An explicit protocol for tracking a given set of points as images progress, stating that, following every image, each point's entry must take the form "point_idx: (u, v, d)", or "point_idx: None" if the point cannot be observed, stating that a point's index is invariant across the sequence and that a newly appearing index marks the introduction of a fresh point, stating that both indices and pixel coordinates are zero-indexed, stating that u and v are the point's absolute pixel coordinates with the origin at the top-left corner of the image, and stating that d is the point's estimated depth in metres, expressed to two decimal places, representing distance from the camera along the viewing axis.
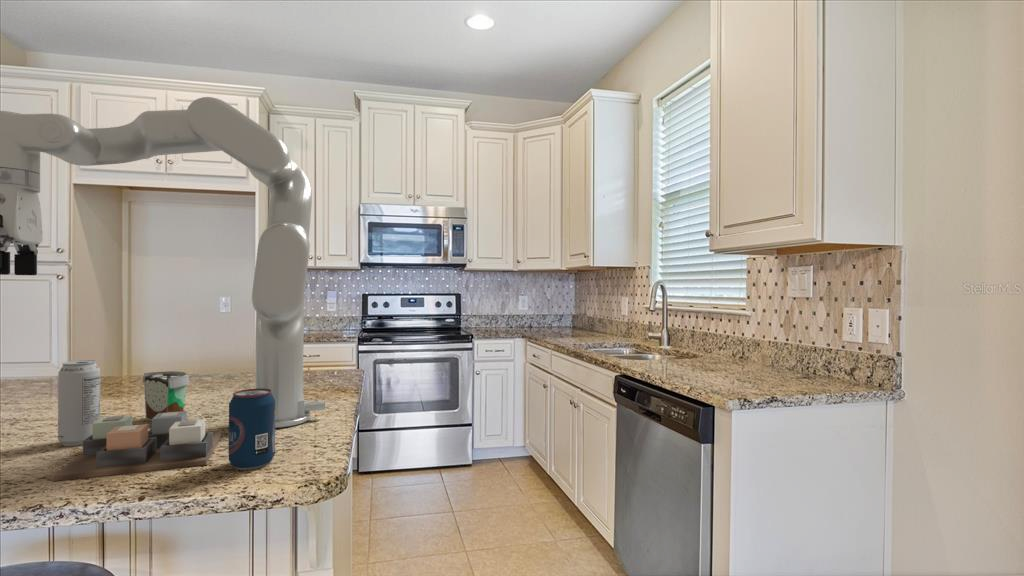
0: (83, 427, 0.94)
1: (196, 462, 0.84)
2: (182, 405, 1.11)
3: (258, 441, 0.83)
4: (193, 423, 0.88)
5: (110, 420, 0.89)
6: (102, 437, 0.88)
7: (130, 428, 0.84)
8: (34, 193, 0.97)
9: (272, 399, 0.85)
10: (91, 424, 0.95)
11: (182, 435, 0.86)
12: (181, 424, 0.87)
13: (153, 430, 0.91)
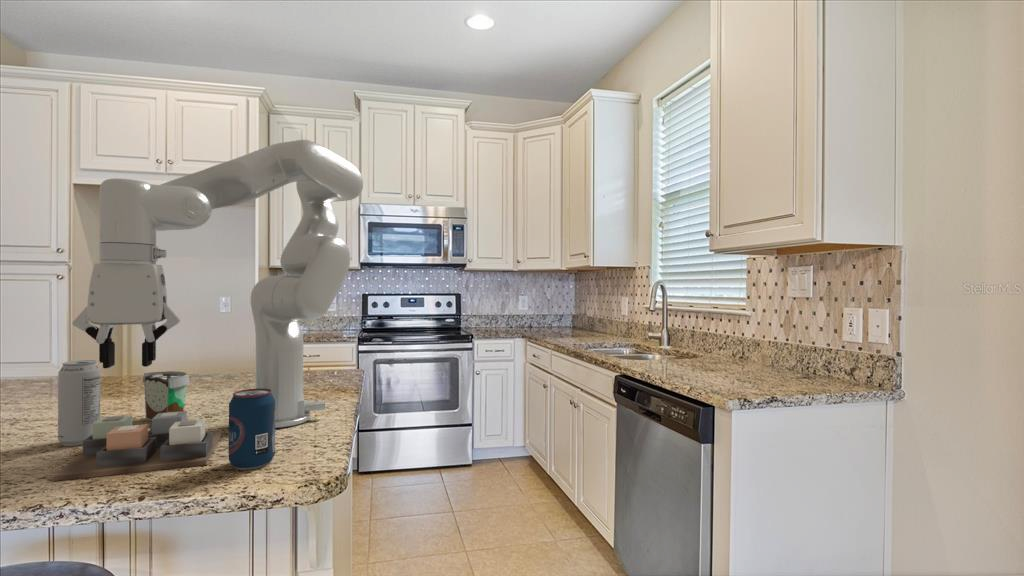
0: (83, 427, 0.94)
1: (196, 462, 0.84)
2: (182, 405, 1.11)
3: (258, 441, 0.83)
4: (193, 423, 0.88)
5: (110, 420, 0.89)
6: (102, 437, 0.88)
7: (130, 428, 0.84)
8: None
9: (272, 399, 0.85)
10: (91, 424, 0.95)
11: (182, 435, 0.86)
12: (181, 424, 0.87)
13: (153, 430, 0.91)
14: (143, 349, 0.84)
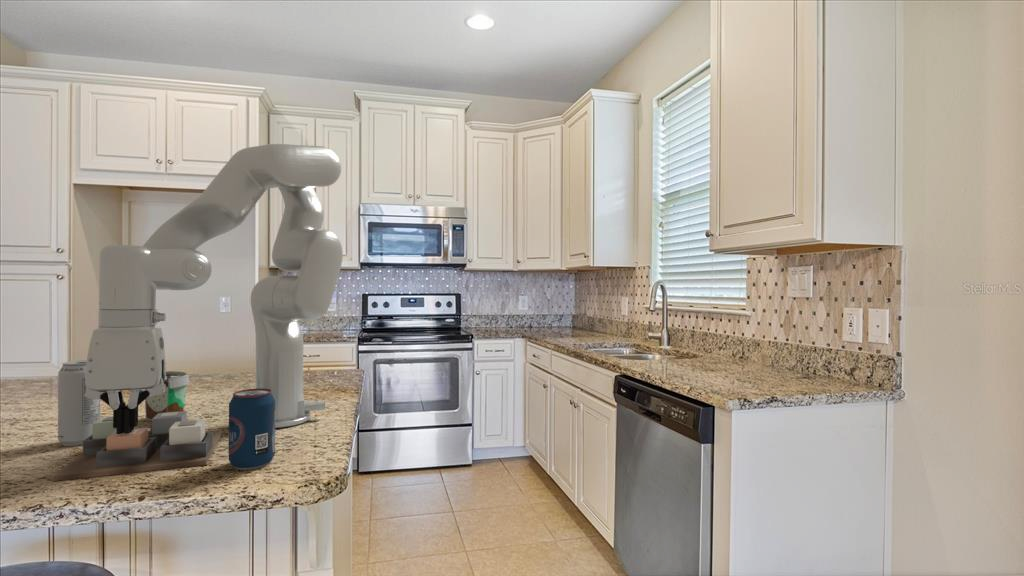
0: (83, 427, 0.94)
1: (196, 462, 0.84)
2: (182, 405, 1.11)
3: (258, 441, 0.83)
4: (193, 423, 0.88)
5: (110, 420, 0.89)
6: (102, 437, 0.88)
7: (130, 432, 0.84)
8: None
9: (272, 399, 0.85)
10: (91, 424, 0.95)
11: (182, 435, 0.86)
12: (181, 424, 0.87)
13: (153, 430, 0.91)
14: (125, 416, 0.83)
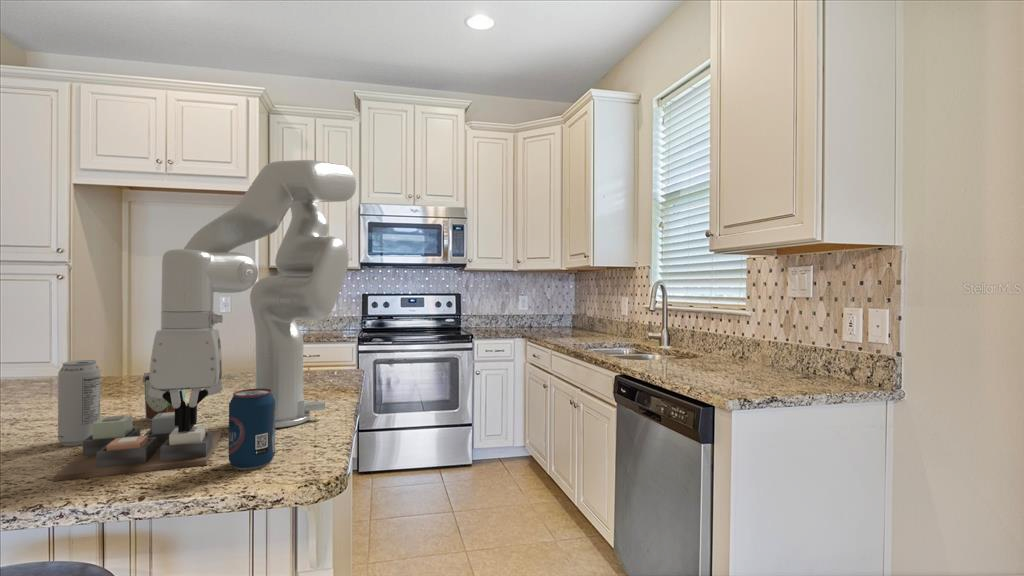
0: (83, 427, 0.94)
1: (196, 462, 0.84)
2: None
3: (258, 441, 0.83)
4: (193, 429, 0.88)
5: (110, 420, 0.89)
6: (102, 437, 0.88)
7: (130, 440, 0.84)
8: None
9: (272, 399, 0.85)
10: (91, 424, 0.95)
11: (182, 441, 0.86)
12: None
13: (153, 430, 0.91)
14: (186, 414, 0.86)
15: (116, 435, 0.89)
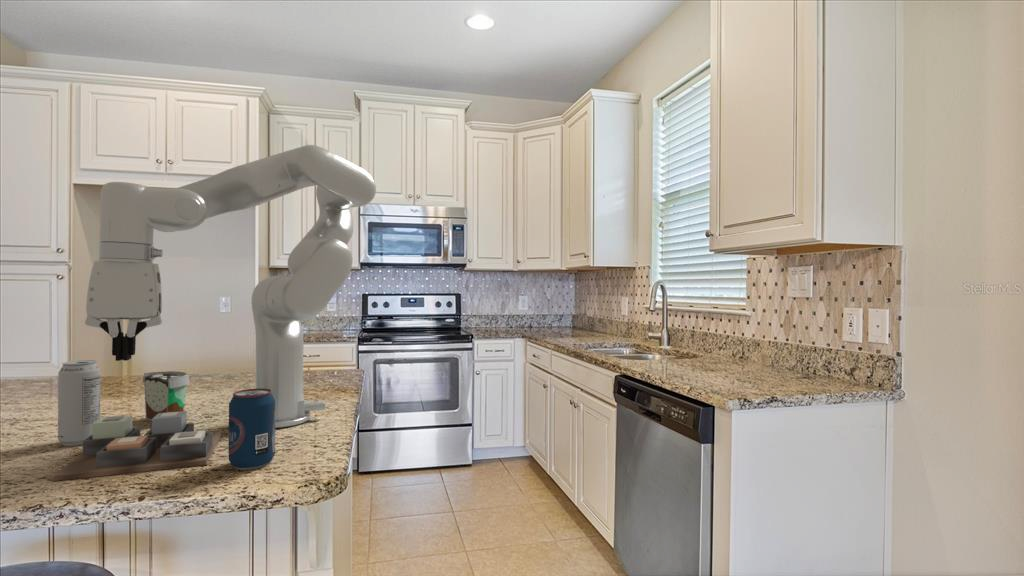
0: (83, 427, 0.94)
1: (196, 462, 0.84)
2: (182, 405, 1.11)
3: (258, 441, 0.83)
4: (193, 434, 0.88)
5: (110, 420, 0.89)
6: (102, 437, 0.88)
7: (130, 440, 0.84)
8: None
9: (272, 399, 0.85)
10: (91, 424, 0.95)
11: None
12: (181, 435, 0.87)
13: (153, 430, 0.91)
14: (123, 344, 0.88)
15: (116, 435, 0.89)
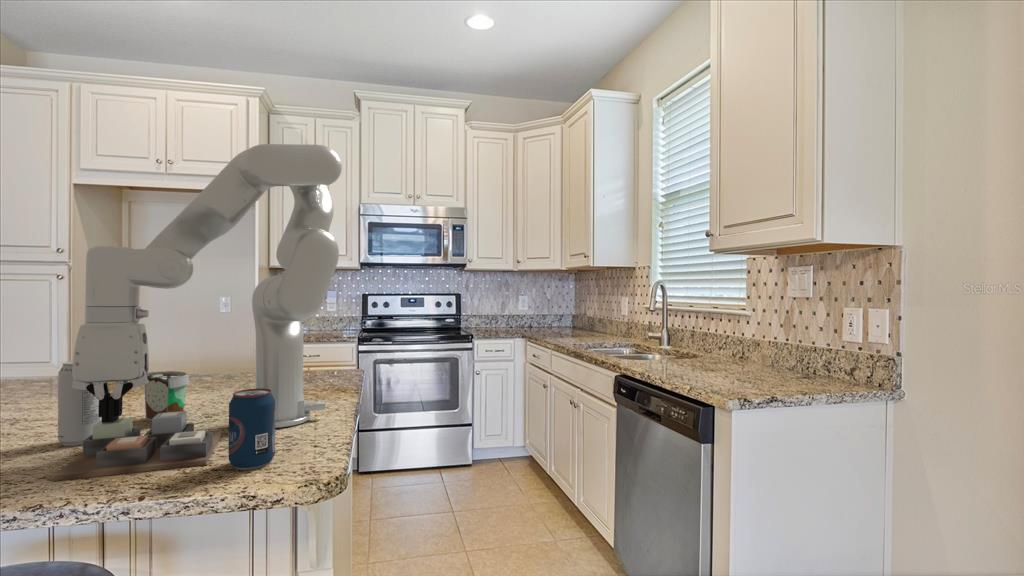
0: (83, 427, 0.94)
1: (196, 462, 0.84)
2: (182, 405, 1.11)
3: (258, 441, 0.83)
4: (193, 434, 0.88)
5: (110, 422, 0.89)
6: None
7: (130, 440, 0.84)
8: None
9: (272, 399, 0.85)
10: (91, 424, 0.95)
11: None
12: (181, 435, 0.87)
13: (153, 430, 0.91)
14: (109, 406, 0.89)
15: None
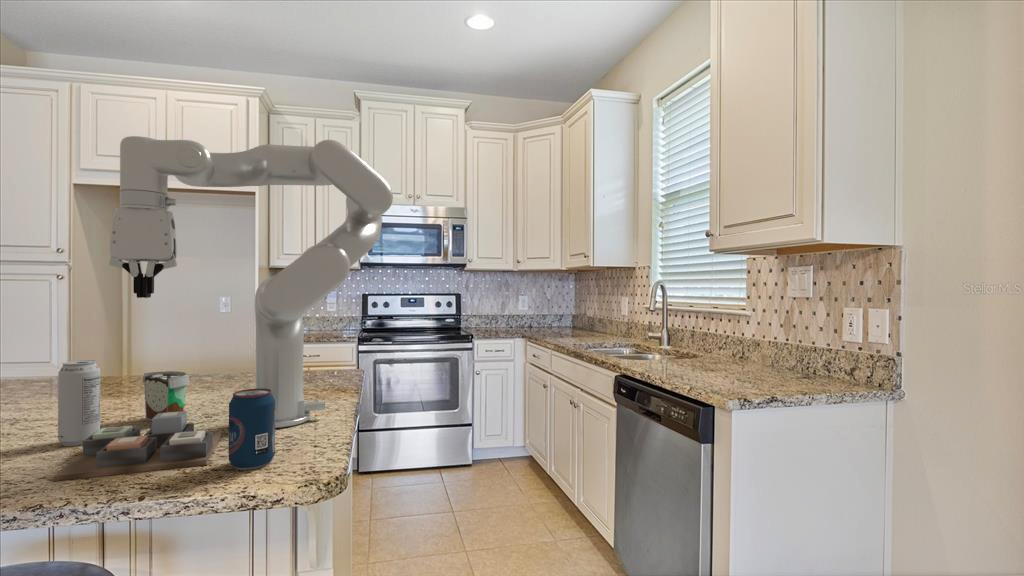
0: (83, 427, 0.94)
1: (196, 462, 0.84)
2: (182, 405, 1.11)
3: (258, 441, 0.83)
4: (193, 434, 0.88)
5: (110, 431, 0.89)
6: None
7: (130, 440, 0.84)
8: None
9: (272, 399, 0.85)
10: (91, 424, 0.95)
11: None
12: (181, 435, 0.87)
13: (153, 430, 0.91)
14: (143, 282, 0.98)
15: None
